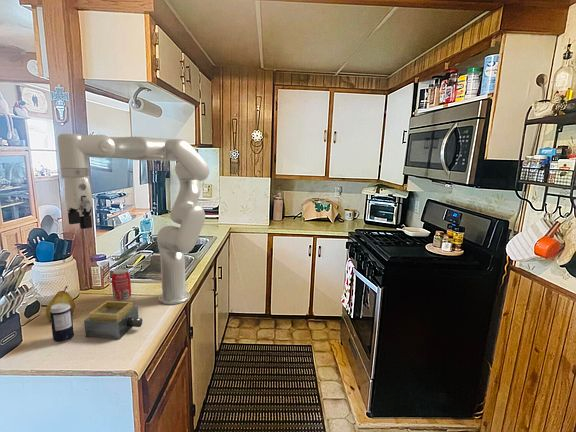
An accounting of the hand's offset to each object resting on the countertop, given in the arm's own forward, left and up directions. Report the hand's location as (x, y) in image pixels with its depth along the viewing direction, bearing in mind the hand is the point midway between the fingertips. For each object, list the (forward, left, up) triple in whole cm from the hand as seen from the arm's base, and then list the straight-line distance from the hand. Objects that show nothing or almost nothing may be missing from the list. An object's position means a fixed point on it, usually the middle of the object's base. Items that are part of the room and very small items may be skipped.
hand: (80, 225), depth 107 cm
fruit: (-6, -15, -37) cm, 41 cm away
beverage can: (+7, -4, -37) cm, 38 cm away
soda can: (-25, -3, -37) cm, 45 cm away
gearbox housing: (-1, +10, -37) cm, 38 cm away
